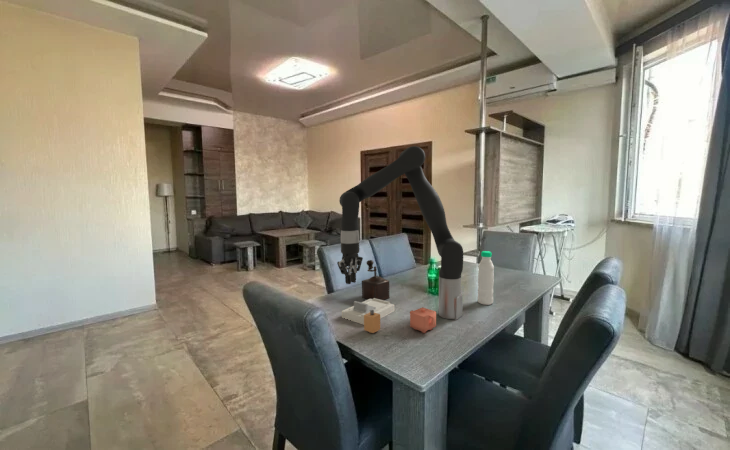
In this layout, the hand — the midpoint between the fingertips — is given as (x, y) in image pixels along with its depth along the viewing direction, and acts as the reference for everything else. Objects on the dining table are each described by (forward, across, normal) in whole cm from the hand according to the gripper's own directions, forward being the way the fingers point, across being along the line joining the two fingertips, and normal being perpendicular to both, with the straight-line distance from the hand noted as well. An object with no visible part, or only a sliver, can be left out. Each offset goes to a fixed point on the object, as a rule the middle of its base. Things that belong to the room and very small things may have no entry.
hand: (350, 282), depth 133 cm
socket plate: (+17, +12, 0) cm, 21 cm away
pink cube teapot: (+17, +12, -26) cm, 34 cm away
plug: (+17, -2, -12) cm, 21 cm away
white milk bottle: (+17, +56, -36) cm, 69 cm away
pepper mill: (+17, +32, +13) cm, 38 cm away
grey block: (+14, +8, 0) cm, 16 cm away
